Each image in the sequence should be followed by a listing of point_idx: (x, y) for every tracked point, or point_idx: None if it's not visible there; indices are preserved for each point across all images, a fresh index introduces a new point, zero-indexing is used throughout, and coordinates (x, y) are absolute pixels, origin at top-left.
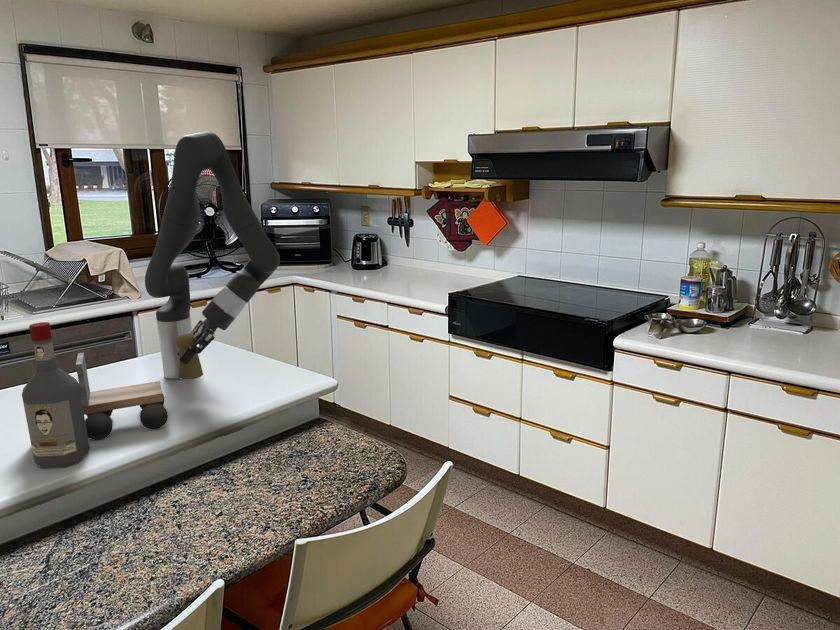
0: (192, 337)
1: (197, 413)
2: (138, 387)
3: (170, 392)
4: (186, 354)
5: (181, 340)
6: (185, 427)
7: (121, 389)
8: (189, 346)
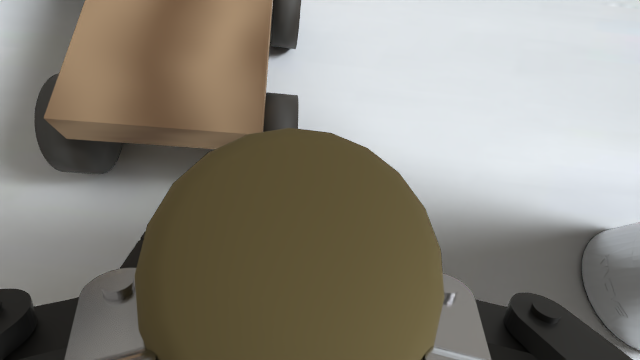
0: (162, 356)
1: None
2: (222, 51)
3: (442, 230)
4: (137, 245)
5: (189, 172)
6: (29, 236)
7: (237, 1)
8: (108, 279)
